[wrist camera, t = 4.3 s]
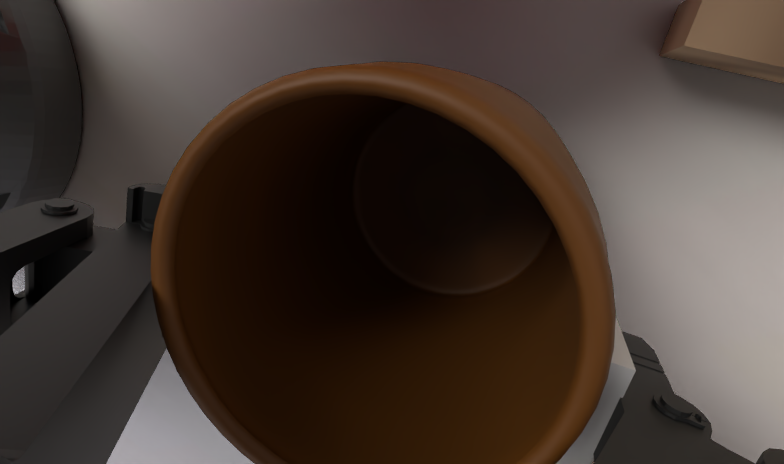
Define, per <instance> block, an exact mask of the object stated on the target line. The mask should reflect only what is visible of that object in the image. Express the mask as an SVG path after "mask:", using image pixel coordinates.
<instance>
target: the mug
mask: <svg viewBox="0 0 784 464" xmlns="http://www.w3.org/2000/svg"><path fill="white" fill-rule="evenodd" d="M151 281H152V291H153V299H154V304H155V309H156V313H157V318H158V323H159V326H160V329H161V332H162V335H163V338H164V341H165V344H166V347H167V350H168V352H169V354H170V356H171V358H172V361H173V363H174V365H175V367H176V370H177V372H178V373H179V375H180V377H181V379H182V380H183V382H184V384H185V386H186V387H187V389H188V391H189V393H190V394H191V396H192V397H193V398H194V400H195V401H196V403H197V404H198V405H199V407H200V408H201V410H202V411H203V412H204V414H205V415H206V416H207V418H208V419H209V420H210V421H211V422H212V423H213V424H214V426H215V427H216V428H217V429H218V430H219V431H220V433H221V434H222V435H223V436H224V437H225V438H226V439H227V440H228V441H229V442H230V443H232V444H233V445H234V446H235V447H236V448H237V449H238V450H239V451H240V452H241V453H242V454H243V455H245V456H246V457H247V458H248V459H250V460H251V461H252V462H253V463H255V464H556V463H557V462H558V461H559V460H560V459H561V458H562V457H563V455H564V454H565V453H566V452H567V451H568V449H569V448H570V447H571V446H572V444H573V443H574V442H575V441H576V440H577V438H578V437H579V436H580V435H581V433H582V432H583V430H584V428H585V427H586V425H587V423H588V422H589V420H590V418H591V416H592V415H593V413H594V411H595V410H596V408H597V405H598V403H599V400H600V397H601V395H602V392H603V390H604V387H605V384H606V382H607V379H608V375H609V370H610V365H611V360H612V355H613V351H614V340H615V320H616V312H615V302H614V293H613V283H612V276H611V270H610V267H609V263H608V254H607V245H606V241H605V237H604V233H603V229H602V225H601V221H600V218H599V214H598V211H597V208H596V206H595V204H594V201H593V199H592V196H591V194H590V192H589V189H588V187H587V185H586V182H585V180H584V178H583V176H582V175H581V173H580V171H579V169H578V167H577V166H576V164H575V162H574V160H573V158H572V157H571V155H570V153H569V152H568V150H567V148H566V147H565V145H564V143H563V142H562V140H561V139H560V137H559V136H558V135H557V133H556V131H555V130H554V129H553V127H552V126H551V125H550V124H549V122H548V121H547V120H546V119H545V117H544V116H543V115H542V114H541V113H540V112H538V111H537V110H536V109H535V108H534V107H533V106H532V105H531V104H530V103H528V102H527V101H525V100H524V99H523V98H521V97H520V96H518V95H517V94H515V93H514V92H512V91H510V90H508V89H506V88H504V87H502V86H500V85H498V84H495V83H492V82H489V81H486V80H483V79H480V78H477V77H474V76H472V75H468V74H465V73H461V72H457V71H453V70H449V69H445V68H439V67H434V66H429V65H423V64H418V63H402V62H373V63H362V64H351V65H340V66H330V67H320V68H313V69H309V70H305V71H301V72H297V73H293V74H289V75H285V76H282V77H280V78H278V79H275V80H273V81H271V82H268V83H266V84H264V85H261V86H259V87H257V88H255V89H253V90H251V91H250V92H248V93H247V94H245V95H243V96H242V97H240V98H239V99H237V100H235V101H234V102H232V103H231V104H229V105H228V106H227V107H226V108H225V109H224V110H222V111H221V112H220V113H219V114H218V115H217V116H215V117H214V118H213V119H212V120H211V121H210V122H208V124H207V125H206V126H205V127H204V128H203V129H202V131H201V132H200V133H199V134H198V135H197V136H196V138H195V139H194V140H193V141H192V142H191V143H190V145H189V146H188V147H187V149H186V150H185V152H184V154H183V155H182V157H181V158H180V160H179V162H178V163H177V165H176V166H175V168H174V170H173V171H172V174H171V176H170V178H169V180H168V183H167V185H166V187H165V190H164V192H163V194H162V197H161V201H160V204H159V208H158V211H157V215H156V218H155V223H154V230H153V236H152V243H151Z"/></svg>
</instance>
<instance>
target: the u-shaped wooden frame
mask: <svg viewBox="0 0 784 464" xmlns="http://www.w3.org/2000/svg"><path fill="white" fill-rule="evenodd" d="M659 56H662V57H666V58H671V59H675V60H680V61H684V62H689V63H693V64H698V65H702V66H706V67H711V68H715V69H720V70H724V71H729V72H733V73H738V74H742V75H747V76H751V77H755V78H760V79H764V80H769V81H773V82H778V83H782V84H784V0H686V1H684V2H683V3H681V4H680V5H679V6H678V9H677V11H676V14H675V16H674V19H673V21H672V24H671V26H670V29H669V32H668V34H667V37H666V39H665V42H664V44H663V47H662V49H661V52H660V54H659Z"/></svg>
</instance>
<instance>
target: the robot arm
mask: <svg viewBox="0 0 784 464" xmlns="http://www.w3.org/2000/svg"><path fill="white" fill-rule="evenodd" d="M81 125H82V103H81V90H80V82H79V76H78V70H77V66H76V61H75V57H74V53H73V49H72V46H71V42H70V39H69V37H68V34H67V31H66V28H65V26H64V23H63V20H62V18H61V16H60V14H59V11H58V9H57V7H56V5H55V3H54V1H53V0H0V464H106V463H107V461H108V459H109V457H110V455H111V453H112V451H113V449H114V447H115V445H116V443H117V441H118V440H119V438H120V436H121V434H122V432H123V430H124V428H125V426H126V424H127V422H128V420H129V418H130V417H131V415H132V413H133V411H134V409H135V407H136V405H137V403H138V401H139V399H140V397H141V395H142V394H143V392H144V390H145V388H146V386H147V384H148V382H149V380H150V378H151V376H152V374H153V372H154V371H155V369H156V367H157V365H158V363H159V361H160V359H161V357H162V355H163V353H164V351H165V349H166V348H167V347H166V344H165V341H164V338H163V335H162V332H161V329H160V326H159V323H158V318H157V313H156V309H155V304H154V299H153V291H152V281H151V243H152V236H153V230H154V223H155V218H156V215H157V211H158V208H159V204H160V201H161V197H162V194H163V192H164V190H165V187H166V185H161V184H139V185H133V186H131V187H129V188H128V192H127V211H126V222H125V223H124V224H123V225H122V226H121V227H120V228H119V229H118V230H115V229H109V228H104V227H98V226H93V214H94V209H93V208H92V207H91V206H89V205H87V204H84V203H82V202H77V201H72V199H66V198H64V199H62V198H59V197H60V195H61V194H62V192H63V191H64V189H65V187H66V185H67V183H68V181H69V179H70V177H71V174H72V171H73V169H74V166H75V162H76V159H77V155H78V150H79V145H80V137H81ZM24 266H25V290H24V291H22V292H20V293H18V294H16V295H14V292H13V287H12V279H13V277H14V276H15V274H16V272H17V271H18V270H20V269H21V268H22V267H24ZM659 363H660V362H659V360H658V358H657V355H656V353H655V351H654V350H653V349H652V348H651V347H650V346H649V345H648V344H647V343H646V342H645V341H644V340H643V339H642V338H640V337H637V336H634V335H631V334H628V333H625V332H622V331H621V328H620V326H619V323H618V320H617V317H616V320H615V340H614V351H613V355H612V360H611V365H610V370H609V375H608V379H607V382H606V384H605V387H604V390H603V392H602V395H601V397H600V400H599V403H598V405H597V408H596V410H595V411H594V413H593V415H592V416H591V418H590V420H589V422H588V423H587V425H586V427H585V428H584V430H583V432H582V433H581V435H580V436H579V437H578V438H577V440H576V441H575V442H574V443H573V444H572V446H571V447H570V448H569V449H568V451H567V452H566V453H565V454H564V455H563V457H562V458H561V459H560V460H559V461H558V462H557V463H556V464H591V463H592V461H593V459H594V462H595V463H594V464H755V463H753V462H751V461H749V460H747V459H745V458H743V457H741V456H740V455H738V454H736V453H734V452H732V451H730V450H728V449H726V448H725V447H723V446H721V445H719V444H718V443H716V442H714V441H713V440H711V439H710V438H711V434H712V428H711V423H710V422H709V421H708V419H707V418H706V417H705V415H704V414H703V413H702V412H700V411H699V410H698V409H697V408H696V407H695V406H693V405H692V404H691V403H689V402H687V401H686V400H684V399H682V398H681V397H679V396H677V395H675V394H674V392H673V390H672V388H671V386H670V384H669V381H668V379H667V377H666V375H665V374H664V371H663V368H662V366H661V365H660V364H659ZM756 464H784V450H781V449H770V448H769V449H767V450H766V451H764V452H763V453H762V455H761V456H760V458H759V459H758V461H757V463H756Z"/></svg>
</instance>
